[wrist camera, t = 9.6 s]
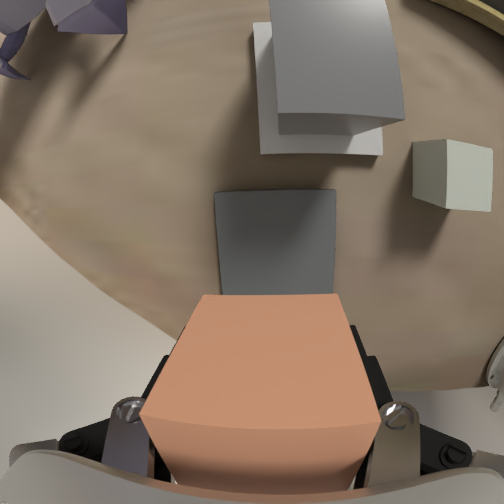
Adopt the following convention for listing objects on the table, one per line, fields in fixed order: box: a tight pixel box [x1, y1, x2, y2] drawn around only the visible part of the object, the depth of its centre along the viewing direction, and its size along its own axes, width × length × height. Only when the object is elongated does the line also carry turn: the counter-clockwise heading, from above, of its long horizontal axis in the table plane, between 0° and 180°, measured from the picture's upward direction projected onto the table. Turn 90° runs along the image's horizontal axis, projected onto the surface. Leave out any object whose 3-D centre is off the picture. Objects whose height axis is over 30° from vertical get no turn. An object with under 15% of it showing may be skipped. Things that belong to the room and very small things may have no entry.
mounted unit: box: [253, 0, 405, 156], centre depth 15 cm, size 12×10×11 cm
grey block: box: [412, 139, 493, 212], centre depth 18 cm, size 5×5×6 cm
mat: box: [214, 189, 336, 295], centre depth 24 cm, size 10×10×1 cm
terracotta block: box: [139, 294, 381, 495], centre depth 8 cm, size 5×5×6 cm
